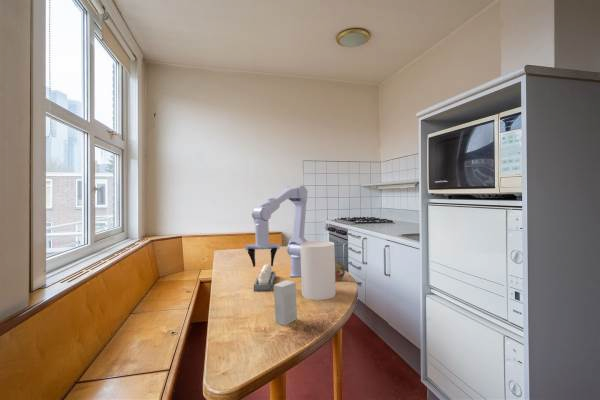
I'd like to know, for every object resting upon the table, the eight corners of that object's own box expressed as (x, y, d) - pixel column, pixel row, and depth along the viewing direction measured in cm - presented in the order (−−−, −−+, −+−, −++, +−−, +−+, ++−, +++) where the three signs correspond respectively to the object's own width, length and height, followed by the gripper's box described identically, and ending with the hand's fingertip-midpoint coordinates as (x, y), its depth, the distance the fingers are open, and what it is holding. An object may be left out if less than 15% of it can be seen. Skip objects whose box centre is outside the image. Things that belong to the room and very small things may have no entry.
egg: (269, 284, 126) (268, 270, 125) (268, 288, 121) (267, 273, 121) (259, 285, 125) (258, 270, 125) (257, 288, 121) (257, 273, 121)
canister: (334, 300, 106) (332, 247, 106) (298, 299, 109) (297, 246, 109) (336, 288, 120) (335, 241, 119) (305, 287, 122) (303, 240, 122)
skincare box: (287, 316, 94) (286, 279, 94) (297, 319, 91) (296, 281, 91) (274, 322, 89) (273, 284, 89) (284, 326, 87) (283, 287, 86)
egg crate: (275, 276, 141) (275, 262, 141) (271, 290, 120) (271, 274, 120) (260, 276, 141) (260, 262, 141) (253, 290, 120) (253, 274, 120)
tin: (312, 280, 133) (311, 261, 133) (313, 278, 136) (313, 260, 136) (344, 282, 129) (344, 263, 129) (345, 279, 132) (345, 261, 132)
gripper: (243, 236, 119) (244, 268, 119) (278, 235, 119) (279, 267, 119) (246, 234, 126) (247, 264, 126) (279, 233, 126) (280, 263, 127)
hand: (263, 266), depth 123 cm, fingers open, 7 cm apart
